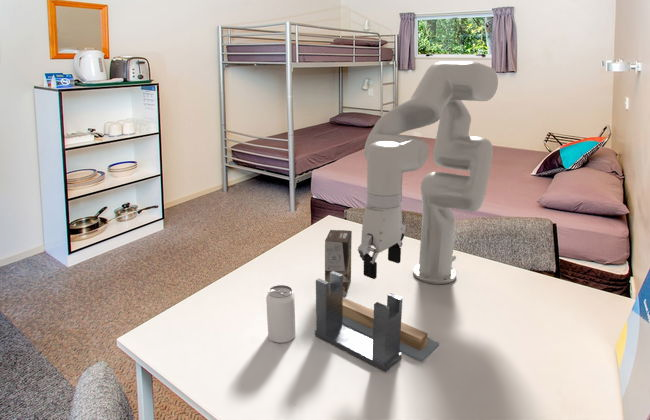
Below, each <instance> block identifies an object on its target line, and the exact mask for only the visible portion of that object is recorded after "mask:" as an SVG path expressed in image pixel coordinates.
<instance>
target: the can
mask: <svg viewBox="0 0 650 420" xmlns="http://www.w3.org/2000/svg"><path fill="white" fill-rule="evenodd" d="M265 301H266V303H265V304H266V321H267V333H268V334H267V336H268V339H269V340H270V341H271V342H273V343H275V344H286V343H289V342H291V341H292V340H293V339H295V337H296V334H297V333H296V331H297V330H296V308H295V307H296V304H295V302H296V301H295V294H294V293H293V288H292V287H290V286H288V285H282V284H281V285H280V284H278V285H274V286H271V287H270V288H268V290H267V295H266V300H265Z"/></svg>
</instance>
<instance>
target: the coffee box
mask: <svg viewBox="0 0 650 420" xmlns="http://www.w3.org/2000/svg"><path fill="white" fill-rule="evenodd" d="M352 235H353V232H352V230H347V229H346V230H342V229H341V230H340V229H330V230H329V232H328V234H327V237H326V238H325V240H324V281H327V282H329V284H330V272H332V271H334V272H337V273H340V274H342V275H343V296H344V297H346V296H347V295H348V292H349V289H350V285H351V284H352V283H351V282H352V237H353V236H352Z"/></svg>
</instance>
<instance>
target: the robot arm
mask: <svg viewBox="0 0 650 420" xmlns="http://www.w3.org/2000/svg"><path fill="white" fill-rule="evenodd" d="M498 85H499V79H498V74H497V71H496V70H495V69H494V68H492V67H490V66H489V65H488V66H487V65H485V64H482V63H480V62H476V61H438V62H435V63H433V64H432V65H430V66H429V67H428V68H427V70H426V71H425V73H424V75H423V76H422V78H421V80H420V82H419V83H418V85H417V87H416V88H415V90H414V92H413V94H412V95H411V97H410V99H409V100H407V101H405V102H402V103H401V104H399V105H398V106H395V107H394V108H393V109H391V110H388V111H387V112H386V113H384V114H383V115H382V116H381V117H379V118H378V120H377V121H376V122H375V124H374V126H373V127H372V129H371V130H370V133H369V134H368V136H367V138H366V141H365V144H364V150H363V151H364V153H363V155H364V157H365V160H366V162H367V164H366V165H367V166H366V167H367V168H366V174H367V176H366V206H365V208H364V213H363V219H362V225H361V226H362V227H361V228H362V229H361V241H360V242H361V243H360V245H359V246H358V247H357V251H358V255H359V257H360V259H361V260H362V261H363V276H364V277H367V278H369V279H372V280H376V279H377V277H378V276H377V275H378V274H377V272H378V271H377V270H378V262H376V260H377V258H378V255H379V253H382V252H383V251H386V250H387V260H388V261H389V262H393V263H395V264H401V256H402V255H401V254H402V253H401V252H402V246H403V240H404V238H405V231H406V229H407V225H406V224H403V211H402V210H403V209H402V200H403V199H402V198H403V196H402V195H403V173H408V172H414V171H417V170H419V169H420V168H422V167H423V166H424V165H425V163H426V162H427V160H428V157H429V147H428V144H427V142H426V141H425V140H423V138H421V137H418V136H417V137H416V136H410V135H402V133H405V132H409V131H412V130H416V129H417V130H418V129H421V128H424V127H427V126H431V125H433V124H435V123H437V122H438V121H439V122H438V126H437V132H436V137H435V142H434V146H433V153H432V154H433V155H432V156H433V157H432V160H433V162H434V163H435V165H437V166H438V167H442V168H446V169H451V170H457V171H458V170H459V171H467V172H469V175H463V174H457V173H450V172H444V171H432V172H429V173H426V174H425V176H424V177H423V178H422V180H421V183H420V196H421V205H422V206H421V207H422V215H421V216H422V217H421V228H420V229H421V231H420V232H421V233H420V245H419V258H418V259H419V262H418V264H416V265H415V266H414V267H413V271H412V272H413V273H412V274H413V275H414V276H415V278H416V279H418V280H419V281H422V282H425V283H428V284H434V285H445V284H449V283H451V282H454V281H455V280H456V279H457V271H456V270H455V269H454V268H453V262H454V261H456V259H457V256H456V254H454V245H455V235H456V234H455V233H456V227H457V226H456V223H457V222H456V217H455V213H454V212H453V210H452V209H455V210H460V211H466V212H477V211H479V210H480V209H481V208H482V206H483V204H484V202H485V198H486V197H485V196H486V193H487V188H488V183H489V178H490V174H491V173H490V172H491V168H492V162H493V157H494V149H493V144H492V142H491V141H490V140H489V139H488V138H486V137H483V136H474V135H473V136H471V135H469V133H470V128H471V122H472V117H471V114H470V111H469V110H468V108H467V107H466V105H465V104H464V102H463V101H469V102H470V101H471V102H472V101H473V102H488V101H490V100H492V99H493V98H494V96H495V94H496V92H497V90H498ZM370 252H373V253H372V255H370Z"/></svg>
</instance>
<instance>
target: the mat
mask: <svg viewBox="0 0 650 420" xmlns="http://www.w3.org/2000/svg"><path fill="white" fill-rule="evenodd" d="M342 325H343V326H345V327H347V328H349V329H351V330H353V331H355V332H357V333H360V334H362V335H364V336H366V337H368V338H370V339H372V340H373V329H371V328H369V327H367V326H365V325H362V324H360V323H358V322H356V321H354V320H351V319H349V318H347V317H345V316H343V323H342ZM440 344H441V343H440V342H439V341H436V340H434V339H431V338H430V337H429V338H428V337H427V345H426V346H425V347H424V348H423V349H422V350H417V349H415V348H413V347H411V346H409V345H406V344H404V343H402V342H400V353H401V354H404V355H405V356H407V357H410V358H412V359H414V360H416V361H418V362H420V363H423V362H424V361H425V360H426V359H427V358H428V357H429V356H431V354H432V353H433V352H435V351H436V349H438V348H439V346H441V345H440Z"/></svg>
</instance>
